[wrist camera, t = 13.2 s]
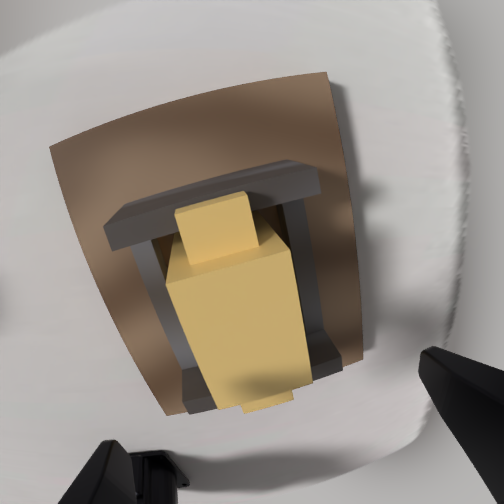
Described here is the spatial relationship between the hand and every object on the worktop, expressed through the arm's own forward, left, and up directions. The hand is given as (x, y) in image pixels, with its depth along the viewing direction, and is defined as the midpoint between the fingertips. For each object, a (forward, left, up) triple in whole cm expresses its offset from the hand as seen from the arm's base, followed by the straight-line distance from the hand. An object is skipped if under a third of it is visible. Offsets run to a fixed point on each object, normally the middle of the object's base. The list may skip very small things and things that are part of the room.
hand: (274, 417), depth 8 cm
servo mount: (0, 0, -11) cm, 11 cm away
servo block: (0, 0, -10) cm, 10 cm away
